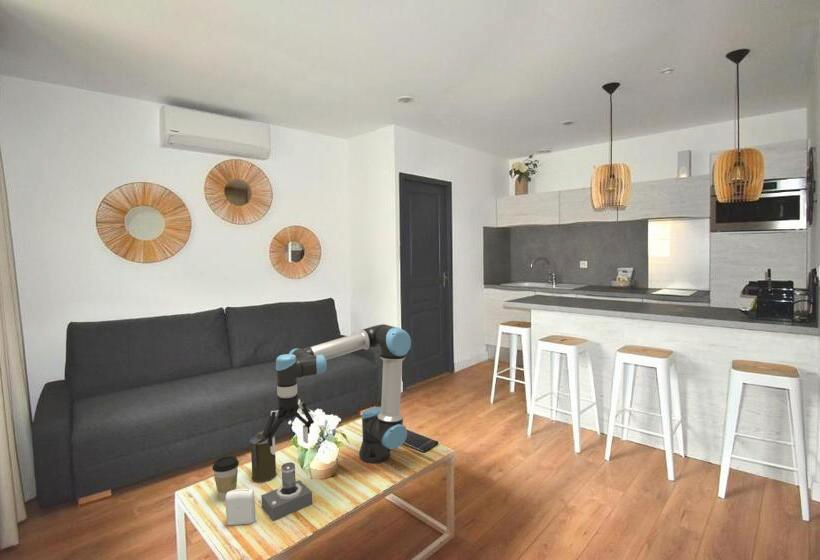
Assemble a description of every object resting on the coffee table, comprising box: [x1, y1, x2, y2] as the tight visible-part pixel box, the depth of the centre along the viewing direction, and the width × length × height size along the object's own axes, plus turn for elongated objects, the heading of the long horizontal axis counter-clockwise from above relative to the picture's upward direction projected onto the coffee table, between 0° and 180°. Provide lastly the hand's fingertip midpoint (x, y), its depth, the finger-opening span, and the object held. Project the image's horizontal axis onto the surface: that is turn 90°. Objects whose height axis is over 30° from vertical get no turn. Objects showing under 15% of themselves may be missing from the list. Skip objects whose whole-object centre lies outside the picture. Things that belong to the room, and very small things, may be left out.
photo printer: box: [224, 488, 257, 526], centre depth 155 cm, size 10×4×12 cm, turn 96°
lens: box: [281, 462, 297, 495], centre depth 164 cm, size 5×5×11 cm
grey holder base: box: [260, 480, 313, 522], centre depth 164 cm, size 16×11×6 cm
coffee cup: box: [212, 455, 240, 502], centre depth 170 cm, size 10×10×15 cm
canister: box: [249, 429, 277, 484], centre depth 185 cm, size 11×10×20 cm
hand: (289, 447), depth 165 cm, fingers open, 13 cm apart
